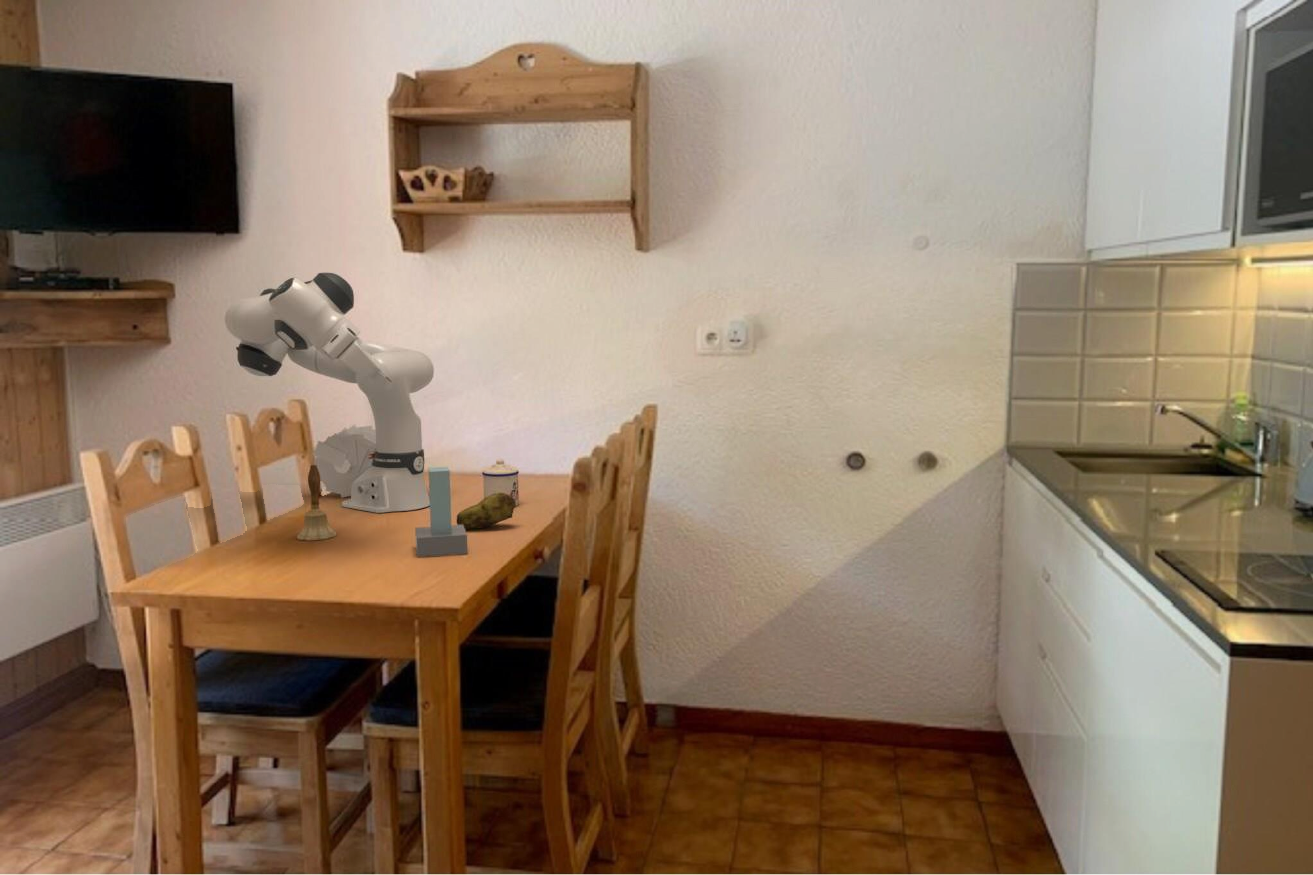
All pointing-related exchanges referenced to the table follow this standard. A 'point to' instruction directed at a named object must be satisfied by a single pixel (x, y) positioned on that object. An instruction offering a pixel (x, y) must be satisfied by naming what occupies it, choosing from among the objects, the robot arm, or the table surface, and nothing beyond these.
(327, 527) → the hand bell
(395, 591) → the table surface
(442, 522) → the teal block
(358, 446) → the spiral staircase
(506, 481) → the teacup with lid
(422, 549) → the slate slab
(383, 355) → the robot arm
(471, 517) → the potato
